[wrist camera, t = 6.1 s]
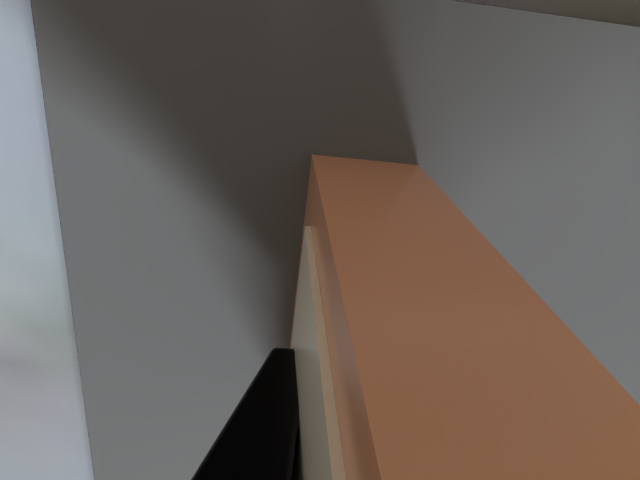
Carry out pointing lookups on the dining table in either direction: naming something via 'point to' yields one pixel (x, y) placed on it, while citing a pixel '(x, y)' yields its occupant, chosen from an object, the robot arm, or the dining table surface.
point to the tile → (436, 348)
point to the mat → (293, 176)
